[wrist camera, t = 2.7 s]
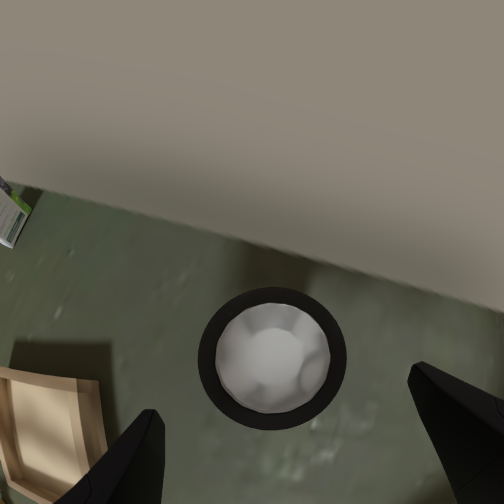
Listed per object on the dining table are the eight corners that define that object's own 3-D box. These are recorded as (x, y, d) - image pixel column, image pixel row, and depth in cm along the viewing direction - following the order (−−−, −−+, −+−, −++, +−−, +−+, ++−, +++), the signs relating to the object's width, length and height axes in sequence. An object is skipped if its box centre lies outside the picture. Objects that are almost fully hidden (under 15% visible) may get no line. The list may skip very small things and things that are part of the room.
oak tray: (127, 519, 11) (110, 532, 8) (26, 481, 11) (8, 485, 8) (98, 380, 17) (76, 378, 14) (8, 368, 16) (-13, 363, 14)
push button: (258, 299, 19) (251, 225, 10) (327, 328, 18) (384, 278, 9) (216, 383, 17) (164, 390, 8) (288, 415, 15) (314, 457, 6)
